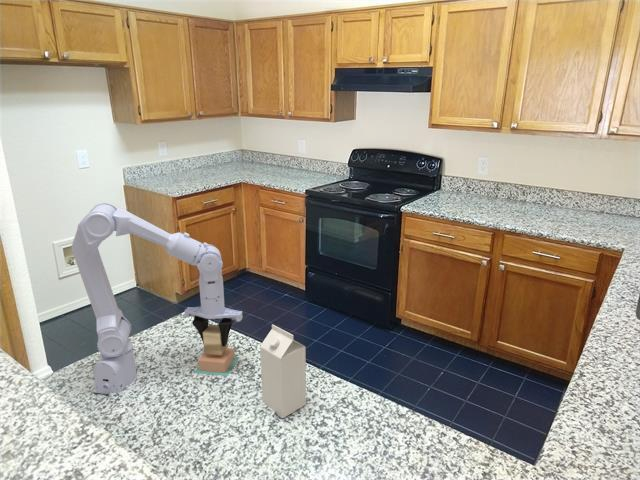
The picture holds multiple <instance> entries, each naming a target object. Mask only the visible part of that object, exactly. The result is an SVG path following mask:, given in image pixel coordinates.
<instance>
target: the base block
mask: <svg viewBox="0 0 640 480" xmlns="http://www.w3.org/2000/svg"><path fill="white" fill-rule="evenodd" d="M235 357H236V356H235V348H230V347H227V348H226V350H225V351H224V352H223V354H222V355H212V354H205V353H204V352H203V353H202V354H201V356H200V357H199V358H198V359H197V365H198V366H199V371H206V372H216V373H226V371H227V370H228V368H229V367H230V365H231V364H232V362H233V361H234V359H235ZM198 366H197V367H198Z"/></svg>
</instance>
